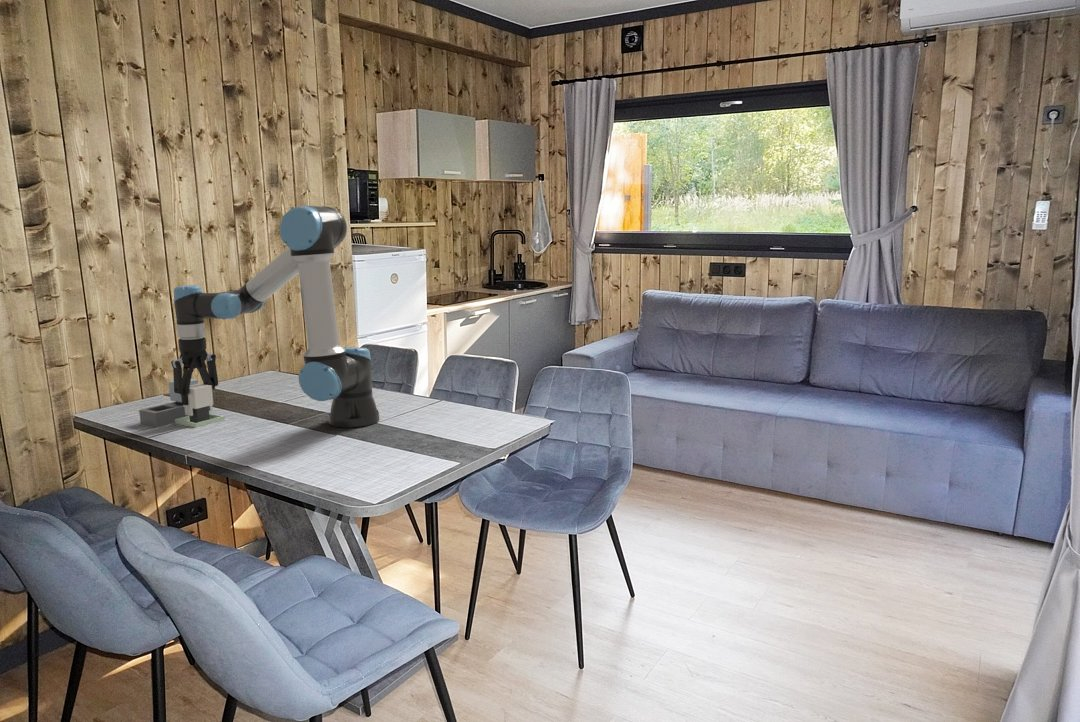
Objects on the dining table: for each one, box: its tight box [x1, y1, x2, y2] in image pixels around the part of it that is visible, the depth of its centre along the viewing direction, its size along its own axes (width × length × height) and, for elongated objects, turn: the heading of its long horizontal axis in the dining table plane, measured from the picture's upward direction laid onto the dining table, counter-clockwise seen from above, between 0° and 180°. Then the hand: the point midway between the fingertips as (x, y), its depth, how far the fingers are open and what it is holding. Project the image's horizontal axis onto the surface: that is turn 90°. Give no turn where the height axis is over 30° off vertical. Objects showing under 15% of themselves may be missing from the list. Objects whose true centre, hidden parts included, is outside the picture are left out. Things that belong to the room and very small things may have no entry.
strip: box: [138, 378, 199, 429], centre depth 235 cm, size 8×21×12 cm, turn 150°
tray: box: [174, 412, 226, 429], centre depth 231 cm, size 10×10×2 cm
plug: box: [183, 383, 214, 423], centre depth 230 cm, size 6×6×11 cm
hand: (199, 412), depth 230 cm, fingers closed on plug, 6 cm apart
